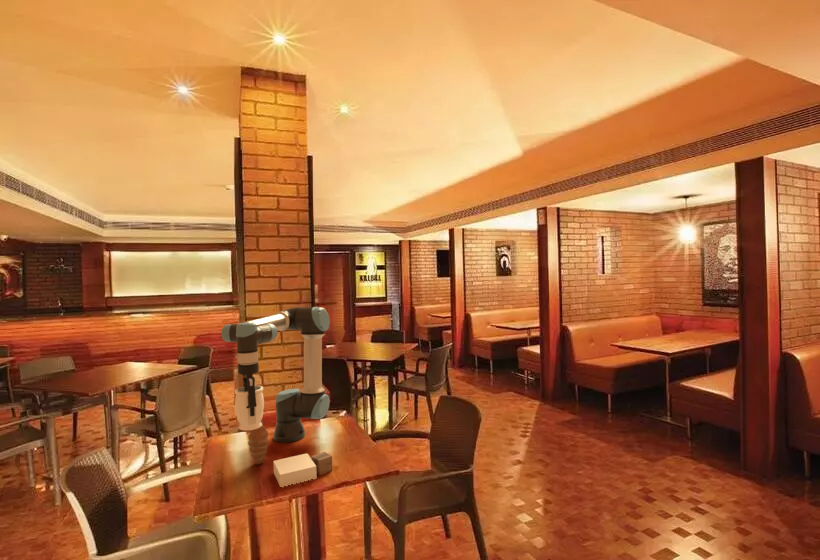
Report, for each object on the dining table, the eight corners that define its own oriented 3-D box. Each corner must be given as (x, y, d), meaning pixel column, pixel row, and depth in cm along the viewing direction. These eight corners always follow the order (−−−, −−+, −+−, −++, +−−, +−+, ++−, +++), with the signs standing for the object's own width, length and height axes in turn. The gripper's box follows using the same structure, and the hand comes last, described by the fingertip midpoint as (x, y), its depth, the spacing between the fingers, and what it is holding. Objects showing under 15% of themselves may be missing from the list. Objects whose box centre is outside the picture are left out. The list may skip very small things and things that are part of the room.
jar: (270, 422, 171) (268, 385, 171) (255, 432, 161) (253, 393, 160) (246, 421, 173) (244, 384, 173) (230, 431, 163) (228, 392, 163)
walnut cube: (312, 470, 179) (311, 456, 178) (324, 465, 183) (324, 451, 182) (319, 475, 174) (319, 460, 174) (332, 470, 178) (332, 455, 178)
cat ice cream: (256, 470, 180) (255, 427, 180) (244, 466, 184) (242, 424, 184) (273, 461, 188) (271, 420, 187) (261, 458, 192) (259, 417, 191)
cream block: (273, 472, 177) (273, 460, 177) (307, 464, 184) (307, 453, 183) (280, 487, 165) (280, 474, 165) (316, 478, 171) (316, 466, 171)
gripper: (234, 358, 175) (236, 413, 175) (241, 369, 155) (243, 431, 155) (254, 356, 178) (256, 409, 179) (262, 367, 158) (265, 427, 159)
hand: (250, 419), depth 167 cm, fingers closed on jar, 10 cm apart
